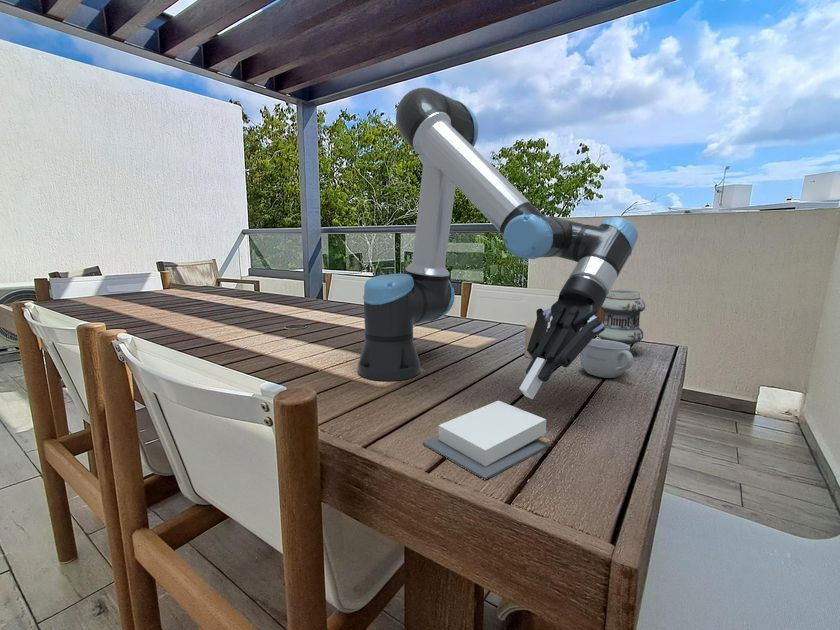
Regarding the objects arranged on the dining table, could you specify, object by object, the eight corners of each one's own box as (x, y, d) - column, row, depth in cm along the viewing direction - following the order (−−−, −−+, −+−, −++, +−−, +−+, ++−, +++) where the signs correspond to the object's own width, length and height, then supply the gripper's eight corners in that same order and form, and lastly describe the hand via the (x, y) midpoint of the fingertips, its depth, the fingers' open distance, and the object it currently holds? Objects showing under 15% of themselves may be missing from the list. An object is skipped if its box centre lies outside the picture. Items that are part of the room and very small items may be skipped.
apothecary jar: (601, 345, 129) (605, 287, 126) (644, 351, 123) (650, 290, 119) (591, 353, 120) (595, 291, 117) (637, 360, 113) (644, 294, 110)
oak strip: (487, 419, 75) (487, 413, 75) (550, 446, 65) (550, 440, 65) (482, 420, 74) (482, 415, 74) (545, 448, 65) (546, 442, 64)
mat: (486, 419, 75) (486, 417, 75) (549, 446, 65) (549, 444, 65) (422, 444, 66) (422, 442, 66) (485, 480, 56) (485, 478, 56)
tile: (498, 400, 74) (438, 425, 66) (546, 419, 66) (485, 450, 58) (498, 414, 75) (438, 440, 66) (545, 434, 67) (485, 467, 58)
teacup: (571, 368, 106) (573, 337, 105) (612, 367, 107) (614, 336, 105) (599, 387, 92) (601, 351, 91) (645, 385, 93) (649, 351, 92)
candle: (545, 354, 118) (547, 320, 116) (544, 359, 113) (546, 323, 111) (525, 353, 120) (527, 318, 118) (523, 357, 115) (525, 322, 113)
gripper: (627, 305, 74) (568, 417, 67) (563, 296, 84) (505, 394, 77) (615, 276, 70) (551, 393, 63) (549, 271, 80) (486, 372, 73)
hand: (526, 393), depth 70 cm, fingers closed
